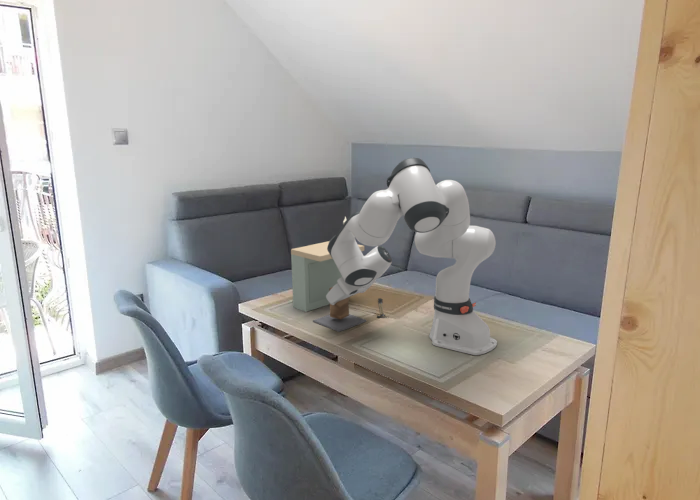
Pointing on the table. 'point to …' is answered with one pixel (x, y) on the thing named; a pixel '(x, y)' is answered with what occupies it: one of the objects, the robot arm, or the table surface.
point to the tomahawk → (381, 309)
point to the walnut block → (340, 308)
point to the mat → (339, 322)
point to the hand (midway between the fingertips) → (338, 300)
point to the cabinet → (313, 275)
